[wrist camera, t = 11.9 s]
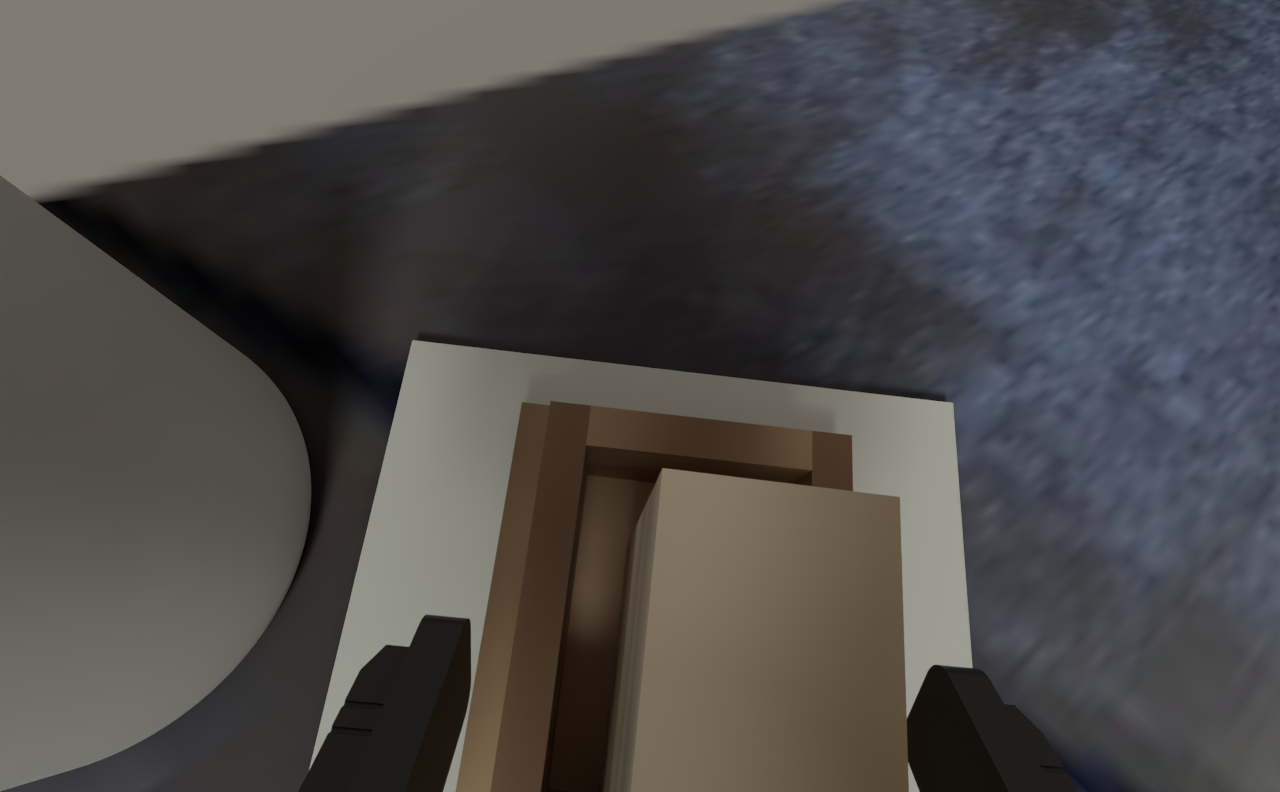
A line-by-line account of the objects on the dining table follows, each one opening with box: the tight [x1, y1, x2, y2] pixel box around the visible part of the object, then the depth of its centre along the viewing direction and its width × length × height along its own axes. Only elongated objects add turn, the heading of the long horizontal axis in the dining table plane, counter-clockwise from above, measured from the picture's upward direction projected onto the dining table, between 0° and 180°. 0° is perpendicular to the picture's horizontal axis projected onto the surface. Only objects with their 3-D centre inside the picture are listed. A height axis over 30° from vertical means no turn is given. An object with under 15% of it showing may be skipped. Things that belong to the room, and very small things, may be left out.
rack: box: [456, 401, 853, 792], centre depth 16 cm, size 10×12×4 cm
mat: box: [309, 340, 972, 792], centre depth 18 cm, size 18×16×1 cm
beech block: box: [600, 468, 909, 792], centre depth 12 cm, size 3×6×10 cm, turn 174°
